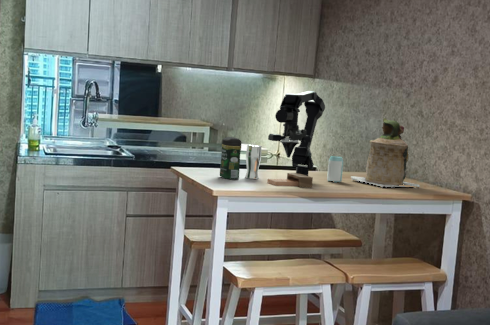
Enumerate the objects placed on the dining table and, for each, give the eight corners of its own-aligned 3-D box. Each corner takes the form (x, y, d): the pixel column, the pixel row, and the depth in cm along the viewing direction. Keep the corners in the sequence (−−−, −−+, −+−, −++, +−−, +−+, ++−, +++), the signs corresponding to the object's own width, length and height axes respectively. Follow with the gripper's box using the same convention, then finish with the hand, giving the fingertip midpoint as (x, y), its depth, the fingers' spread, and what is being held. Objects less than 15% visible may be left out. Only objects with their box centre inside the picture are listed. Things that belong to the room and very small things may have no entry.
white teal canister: (324, 181, 318) (326, 156, 317) (331, 180, 324) (333, 155, 323) (337, 183, 314) (339, 157, 313) (344, 182, 320) (346, 157, 319)
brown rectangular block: (286, 182, 301) (287, 172, 300) (298, 182, 303) (299, 173, 303) (299, 187, 289) (300, 177, 288) (311, 187, 291) (312, 177, 291)
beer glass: (261, 179, 305) (264, 146, 304) (247, 179, 303) (249, 146, 302) (256, 177, 312) (259, 145, 310) (242, 176, 310) (244, 144, 308)
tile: (267, 183, 296) (267, 178, 296) (297, 184, 302) (297, 179, 301) (274, 186, 288) (275, 181, 288) (305, 187, 294) (306, 182, 294)
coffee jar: (217, 176, 304) (220, 135, 302) (233, 176, 307) (236, 136, 305) (224, 179, 295) (227, 137, 293) (241, 179, 298) (244, 138, 296)
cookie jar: (382, 188, 307) (389, 119, 304) (348, 180, 328) (354, 115, 325) (421, 188, 320) (428, 121, 317) (386, 180, 341) (392, 118, 338)
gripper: (279, 122, 284) (276, 159, 286) (318, 124, 291) (315, 160, 292) (268, 120, 294) (266, 156, 296) (307, 122, 301) (304, 157, 303)
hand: (288, 157), depth 296 cm, fingers closed
